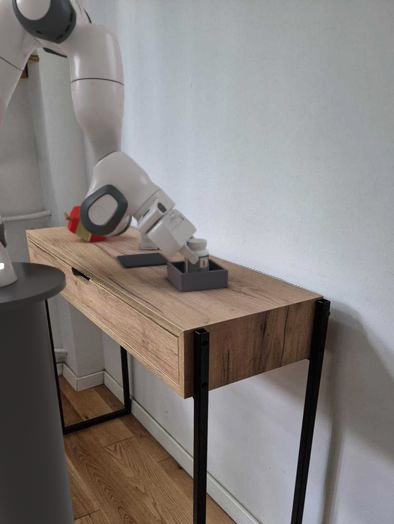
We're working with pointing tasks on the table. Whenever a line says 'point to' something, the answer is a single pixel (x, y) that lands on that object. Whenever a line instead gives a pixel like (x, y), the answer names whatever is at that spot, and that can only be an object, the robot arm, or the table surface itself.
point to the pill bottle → (200, 249)
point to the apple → (80, 226)
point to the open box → (197, 276)
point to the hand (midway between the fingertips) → (199, 257)
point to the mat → (142, 260)
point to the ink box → (147, 243)
